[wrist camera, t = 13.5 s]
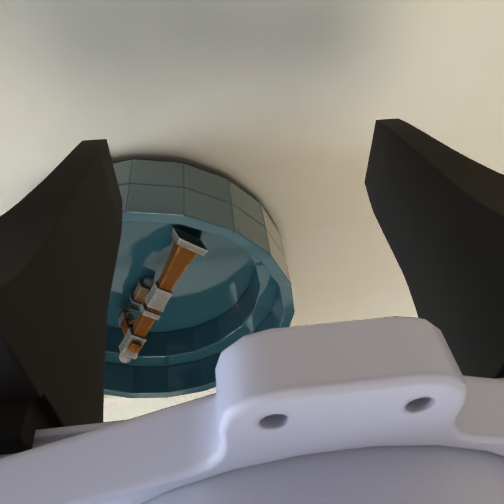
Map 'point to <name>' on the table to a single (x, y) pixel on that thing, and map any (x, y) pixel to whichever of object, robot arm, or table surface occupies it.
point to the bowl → (191, 277)
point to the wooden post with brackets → (156, 294)
